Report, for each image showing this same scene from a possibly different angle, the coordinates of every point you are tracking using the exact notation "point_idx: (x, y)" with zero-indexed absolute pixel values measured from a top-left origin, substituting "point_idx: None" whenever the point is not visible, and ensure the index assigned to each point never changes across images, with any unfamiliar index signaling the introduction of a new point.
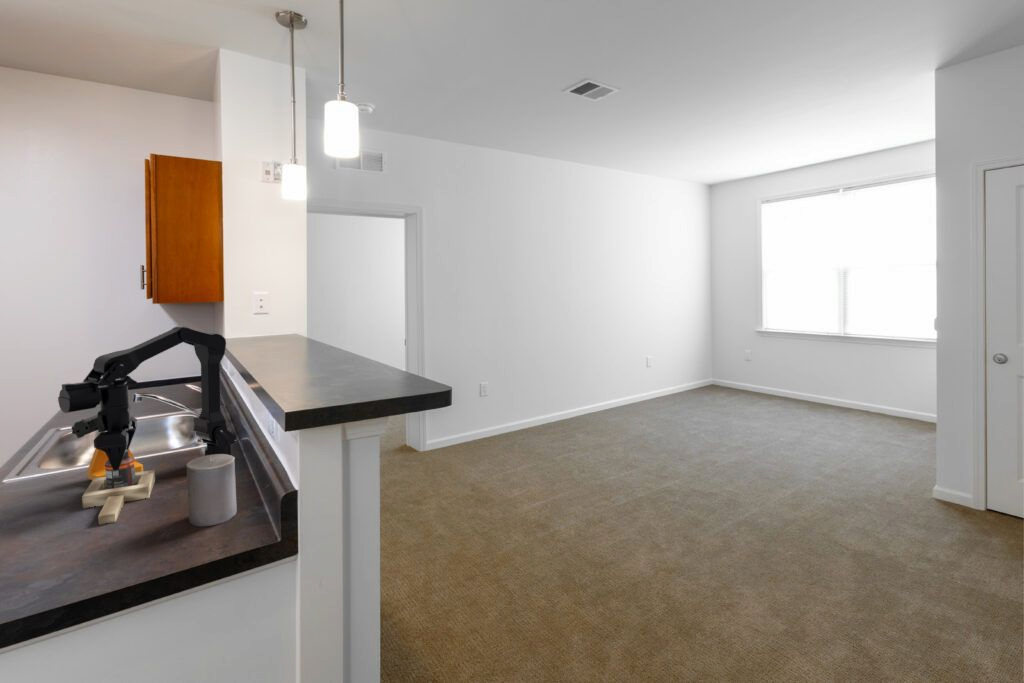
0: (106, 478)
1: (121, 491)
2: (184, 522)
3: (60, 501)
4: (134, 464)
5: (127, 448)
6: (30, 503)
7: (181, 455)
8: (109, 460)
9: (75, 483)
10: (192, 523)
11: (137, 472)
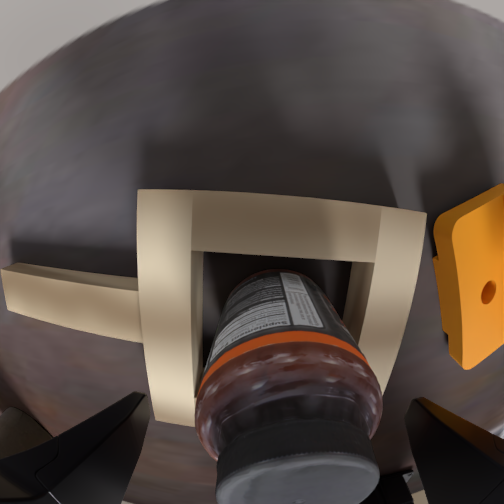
0: (258, 304)
1: (145, 344)
2: (17, 403)
3: (312, 91)
4: (493, 339)
5: (421, 475)
6: (342, 15)
7: (501, 401)
8: (72, 429)
9: (484, 145)
10: (8, 408)
11: (383, 383)
